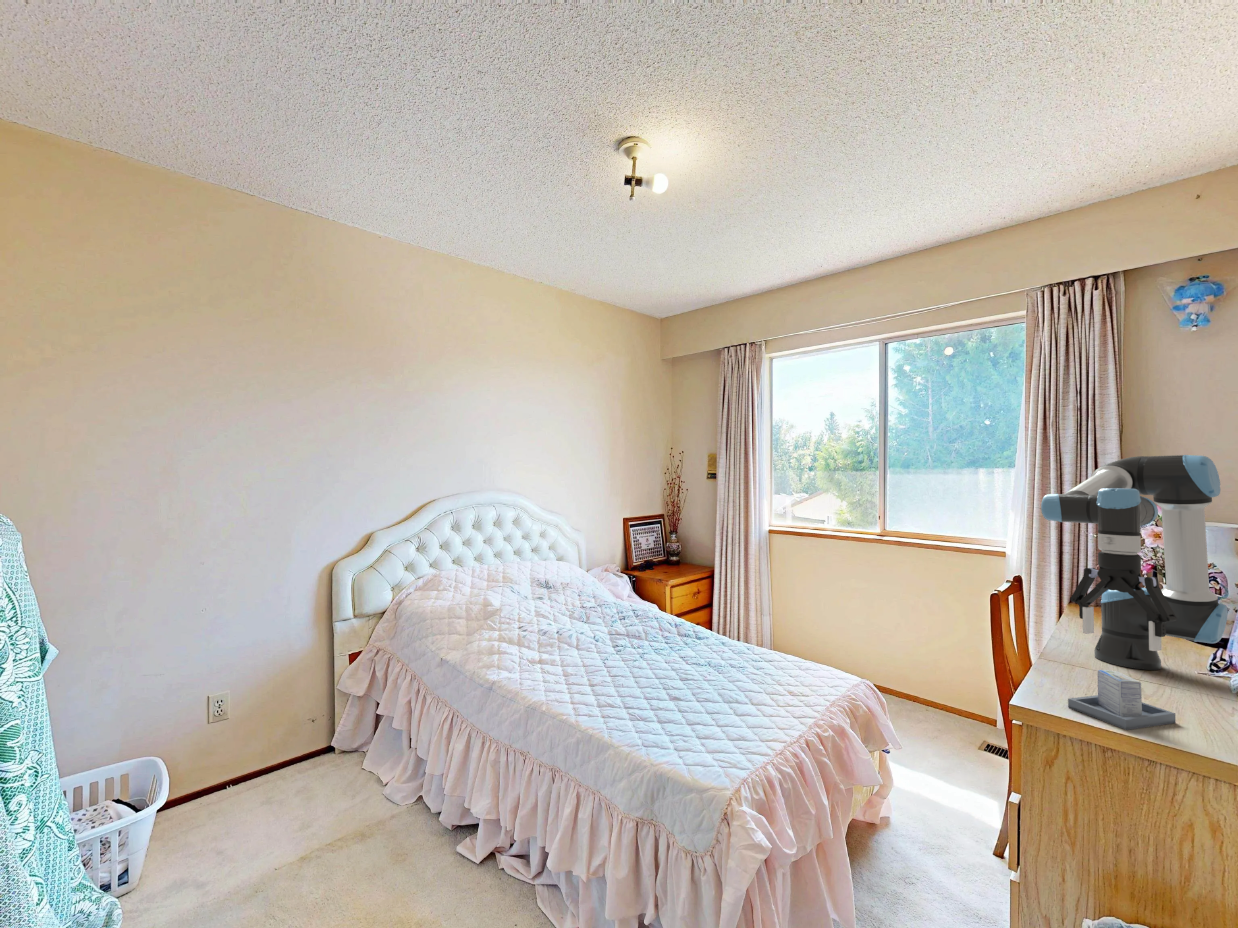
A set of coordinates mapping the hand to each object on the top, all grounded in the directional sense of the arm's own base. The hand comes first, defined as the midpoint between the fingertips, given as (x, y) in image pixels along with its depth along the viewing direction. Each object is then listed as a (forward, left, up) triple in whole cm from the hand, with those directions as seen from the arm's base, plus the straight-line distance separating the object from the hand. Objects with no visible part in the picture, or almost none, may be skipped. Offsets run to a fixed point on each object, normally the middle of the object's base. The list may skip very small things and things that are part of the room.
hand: (1120, 641), depth 127 cm
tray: (0, 0, -17) cm, 17 cm away
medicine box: (0, 0, -17) cm, 17 cm away
